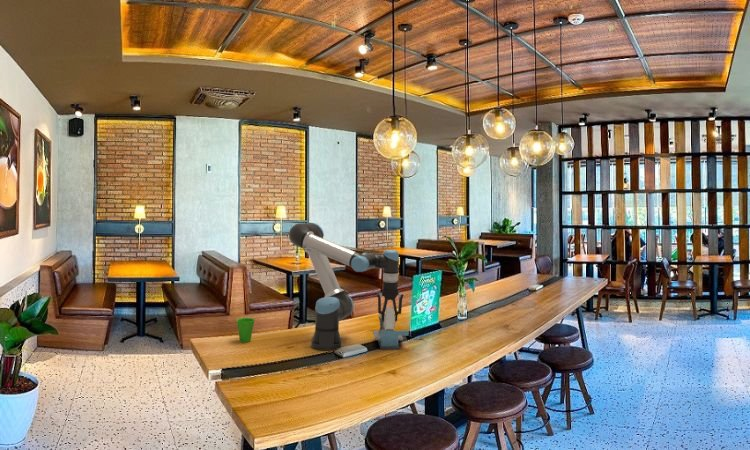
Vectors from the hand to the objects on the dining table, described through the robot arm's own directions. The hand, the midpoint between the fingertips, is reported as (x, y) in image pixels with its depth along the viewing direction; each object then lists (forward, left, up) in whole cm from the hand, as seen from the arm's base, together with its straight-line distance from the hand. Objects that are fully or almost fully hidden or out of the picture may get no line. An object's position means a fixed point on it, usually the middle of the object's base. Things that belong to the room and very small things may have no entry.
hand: (389, 327), depth 237 cm
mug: (+2, +22, -10) cm, 24 cm away
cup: (-72, +8, -10) cm, 73 cm away
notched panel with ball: (+1, +4, -10) cm, 10 cm away
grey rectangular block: (0, 0, -2) cm, 2 cm away
